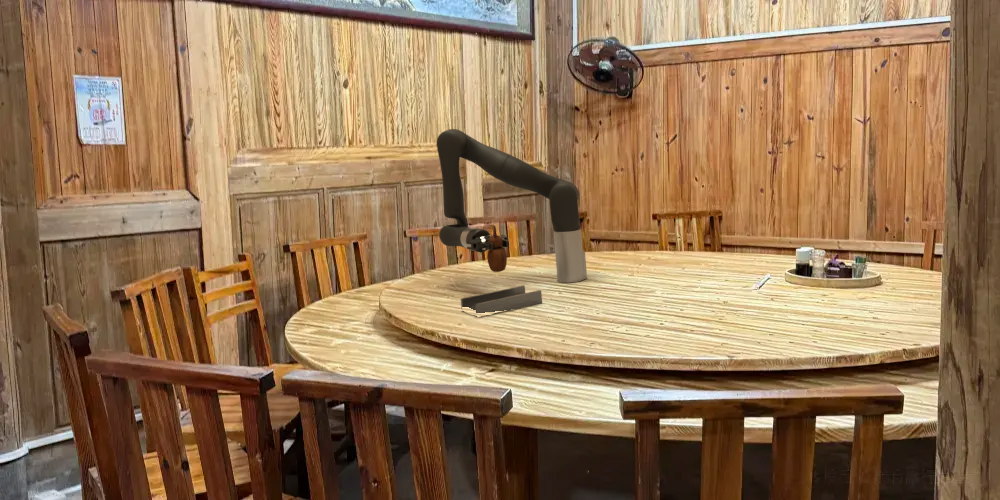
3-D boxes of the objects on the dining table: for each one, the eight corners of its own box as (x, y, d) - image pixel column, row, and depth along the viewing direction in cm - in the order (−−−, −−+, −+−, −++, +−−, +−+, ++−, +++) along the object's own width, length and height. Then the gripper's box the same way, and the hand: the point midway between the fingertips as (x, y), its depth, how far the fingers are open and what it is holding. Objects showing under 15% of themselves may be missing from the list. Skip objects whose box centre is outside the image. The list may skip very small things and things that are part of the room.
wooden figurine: (505, 272, 260) (500, 225, 258) (487, 273, 262) (482, 226, 259) (509, 268, 267) (505, 221, 264) (491, 268, 268) (487, 222, 265)
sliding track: (524, 297, 265) (523, 285, 264) (542, 303, 255) (541, 290, 254) (461, 311, 255) (460, 298, 254) (478, 317, 245) (477, 304, 244)
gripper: (454, 231, 271) (478, 237, 256) (493, 225, 278) (518, 229, 263) (457, 254, 273) (480, 261, 258) (496, 247, 279) (521, 253, 264)
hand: (499, 245), depth 260 cm, fingers closed on wooden figurine, 4 cm apart
